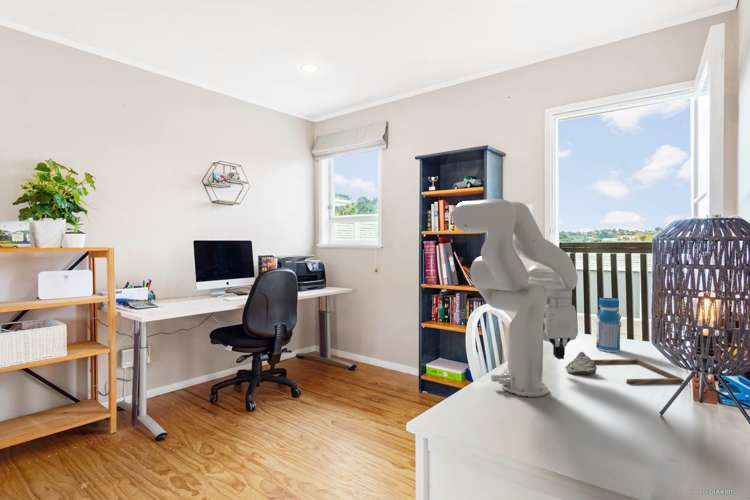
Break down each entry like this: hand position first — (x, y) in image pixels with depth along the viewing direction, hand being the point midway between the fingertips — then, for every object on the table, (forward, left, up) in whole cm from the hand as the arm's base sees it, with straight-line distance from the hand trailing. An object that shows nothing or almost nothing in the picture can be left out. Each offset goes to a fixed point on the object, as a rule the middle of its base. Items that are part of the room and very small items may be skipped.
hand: (559, 357), depth 132 cm
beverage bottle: (+33, +25, -5) cm, 42 cm away
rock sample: (+8, 0, -5) cm, 9 cm away
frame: (+24, -1, -5) cm, 25 cm away
